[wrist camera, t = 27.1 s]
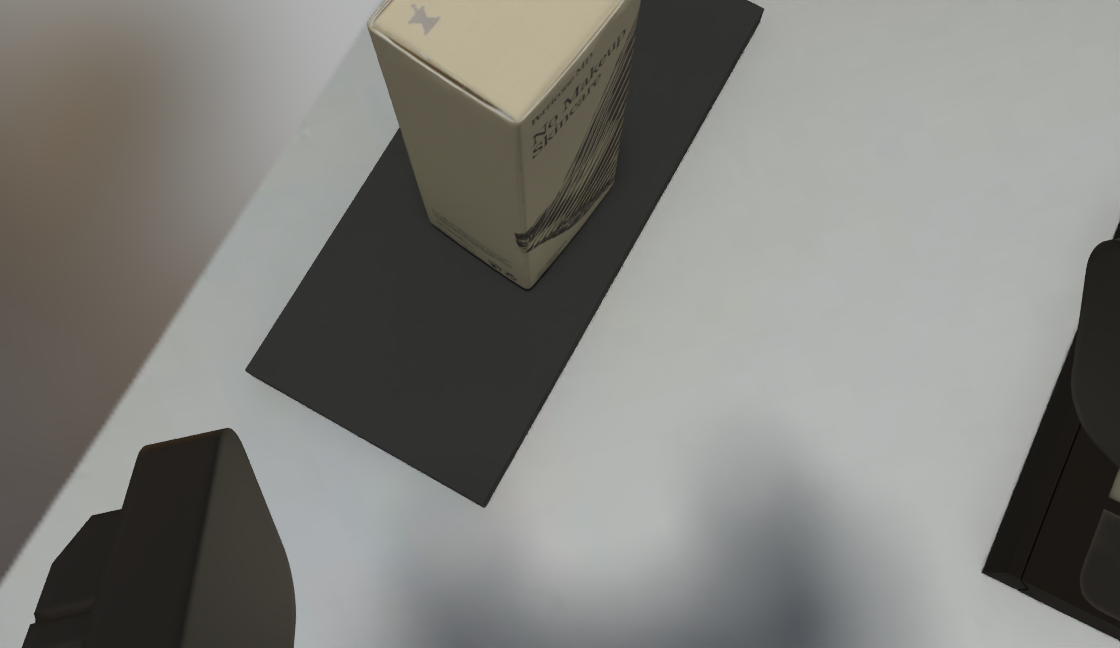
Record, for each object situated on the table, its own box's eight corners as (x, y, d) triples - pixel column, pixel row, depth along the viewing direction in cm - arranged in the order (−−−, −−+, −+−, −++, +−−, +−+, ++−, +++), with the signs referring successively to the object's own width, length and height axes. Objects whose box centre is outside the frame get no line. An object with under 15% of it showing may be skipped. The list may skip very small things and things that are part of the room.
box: (528, 296, 35) (512, 141, 22) (425, 221, 35) (351, 28, 23) (622, 176, 36) (657, -37, 23) (519, 105, 36) (500, -141, 24)
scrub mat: (484, 508, 34) (482, 506, 33) (252, 376, 35) (244, 370, 34) (759, 22, 38) (764, 8, 37) (544, -84, 39) (544, -101, 38)
